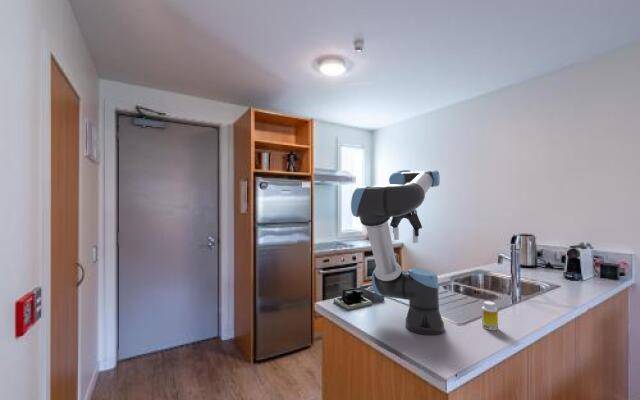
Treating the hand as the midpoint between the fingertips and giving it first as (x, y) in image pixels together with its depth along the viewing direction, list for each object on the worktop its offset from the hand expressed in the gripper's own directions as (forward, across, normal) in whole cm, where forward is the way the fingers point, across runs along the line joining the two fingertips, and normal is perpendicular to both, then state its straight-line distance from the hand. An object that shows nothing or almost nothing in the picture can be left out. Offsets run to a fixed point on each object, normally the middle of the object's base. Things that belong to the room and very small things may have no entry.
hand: (405, 241), depth 149 cm
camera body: (+32, +15, +11) cm, 37 cm away
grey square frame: (+32, +13, +25) cm, 43 cm away
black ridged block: (+31, +13, +25) cm, 42 cm away
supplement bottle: (+32, -39, -7) cm, 51 cm away
